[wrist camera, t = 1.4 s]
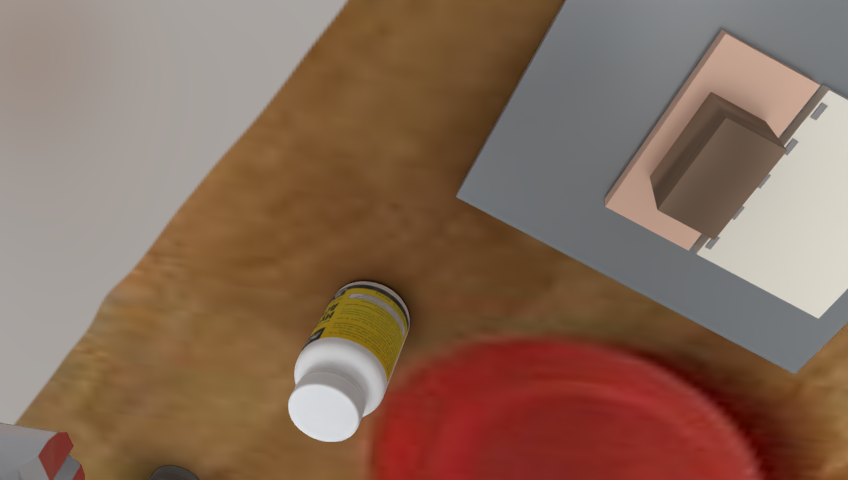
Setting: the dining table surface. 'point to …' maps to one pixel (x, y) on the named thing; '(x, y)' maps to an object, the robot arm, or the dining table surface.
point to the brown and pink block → (712, 143)
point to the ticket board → (628, 129)
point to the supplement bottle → (348, 361)
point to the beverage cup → (172, 474)
